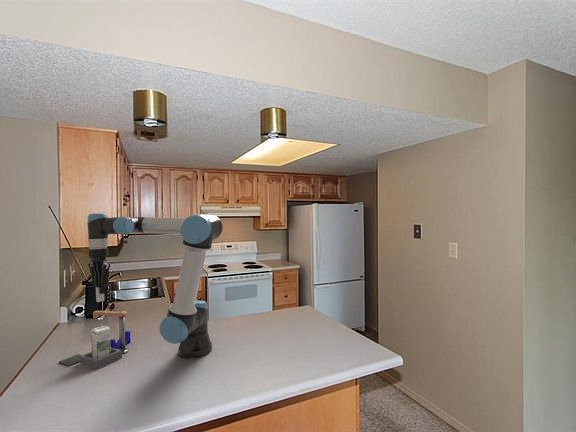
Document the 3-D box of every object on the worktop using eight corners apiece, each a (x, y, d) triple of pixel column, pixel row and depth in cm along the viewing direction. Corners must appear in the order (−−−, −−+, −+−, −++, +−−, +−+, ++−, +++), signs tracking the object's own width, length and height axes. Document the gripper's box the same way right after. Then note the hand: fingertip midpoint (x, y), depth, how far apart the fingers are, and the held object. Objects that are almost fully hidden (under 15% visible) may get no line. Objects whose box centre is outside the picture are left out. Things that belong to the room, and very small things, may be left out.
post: (130, 350, 147) (130, 315, 147) (121, 355, 143) (120, 318, 143) (124, 349, 149) (123, 314, 149) (114, 353, 145) (113, 317, 145)
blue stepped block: (122, 342, 158) (122, 330, 158) (130, 343, 157) (130, 331, 157) (104, 353, 146) (104, 340, 146) (113, 353, 145) (112, 340, 145)
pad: (88, 358, 140) (88, 357, 140) (69, 366, 133) (69, 365, 133) (78, 355, 144) (78, 354, 144) (58, 362, 136) (58, 361, 136)
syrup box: (105, 357, 141) (105, 324, 141) (111, 360, 137) (110, 327, 137) (91, 361, 137) (90, 328, 137) (96, 365, 133) (96, 331, 133)
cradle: (122, 358, 140) (121, 350, 140) (96, 369, 129) (96, 361, 129) (106, 353, 145) (105, 345, 145) (80, 364, 135) (80, 356, 135)
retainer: (128, 317, 148) (128, 311, 148) (122, 320, 144) (122, 314, 144) (98, 316, 151) (98, 310, 151) (91, 318, 147) (91, 312, 147)
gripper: (115, 247, 139) (117, 300, 139) (98, 247, 145) (100, 297, 145) (98, 249, 132) (100, 304, 132) (81, 248, 139) (83, 301, 138)
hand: (100, 301), depth 139 cm, fingers closed
